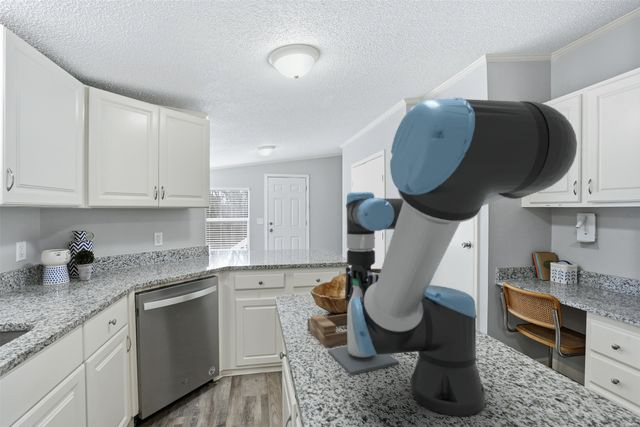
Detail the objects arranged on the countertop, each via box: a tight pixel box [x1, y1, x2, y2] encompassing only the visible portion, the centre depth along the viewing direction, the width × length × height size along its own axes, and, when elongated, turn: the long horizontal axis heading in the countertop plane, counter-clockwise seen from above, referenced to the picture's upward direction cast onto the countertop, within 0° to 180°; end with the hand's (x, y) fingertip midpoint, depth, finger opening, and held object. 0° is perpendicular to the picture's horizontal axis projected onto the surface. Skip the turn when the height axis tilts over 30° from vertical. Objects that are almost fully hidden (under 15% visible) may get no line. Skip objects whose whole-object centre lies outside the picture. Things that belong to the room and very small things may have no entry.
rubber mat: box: [327, 345, 400, 376], centre depth 91 cm, size 14×14×1 cm
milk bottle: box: [346, 278, 373, 357], centre depth 91 cm, size 8×8×20 cm
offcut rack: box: [307, 301, 348, 349], centre depth 108 cm, size 16×16×8 cm
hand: (361, 333), depth 91 cm, fingers closed on milk bottle, 8 cm apart
